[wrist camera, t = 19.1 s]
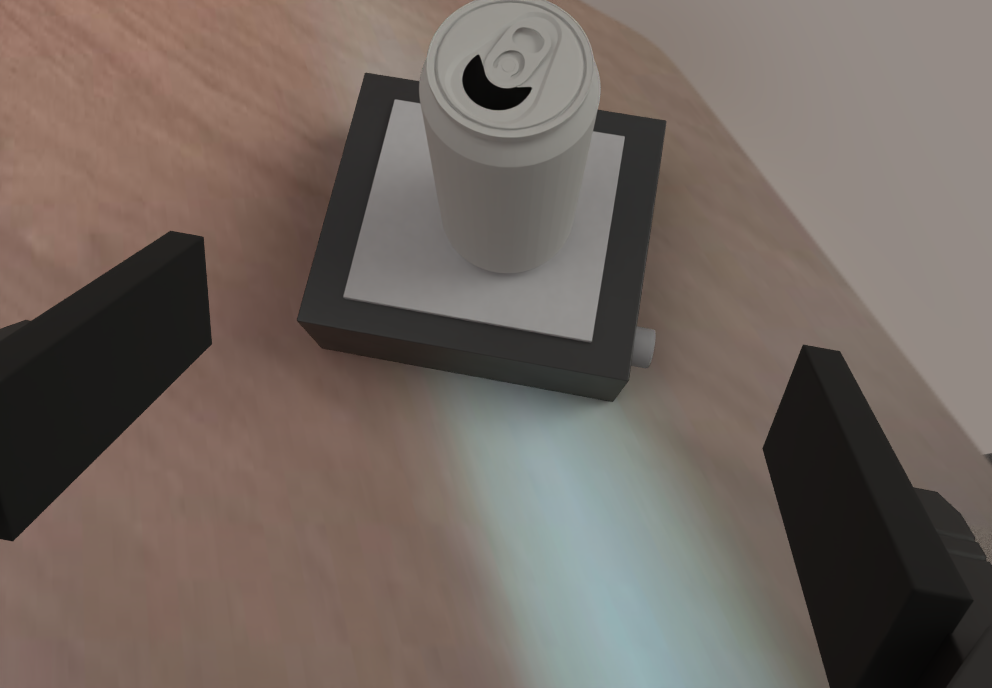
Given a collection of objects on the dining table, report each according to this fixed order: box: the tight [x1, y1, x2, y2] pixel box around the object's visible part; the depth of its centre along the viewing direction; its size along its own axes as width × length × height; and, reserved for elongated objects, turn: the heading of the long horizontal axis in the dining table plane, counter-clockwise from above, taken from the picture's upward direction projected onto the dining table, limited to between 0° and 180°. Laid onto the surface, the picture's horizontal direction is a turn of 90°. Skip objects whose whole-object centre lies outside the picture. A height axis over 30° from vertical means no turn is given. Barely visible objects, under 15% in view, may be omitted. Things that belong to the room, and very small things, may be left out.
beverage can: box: [419, 0, 601, 273], centre depth 30 cm, size 6×6×12 cm
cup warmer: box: [297, 73, 666, 402], centre depth 38 cm, size 17×14×5 cm
